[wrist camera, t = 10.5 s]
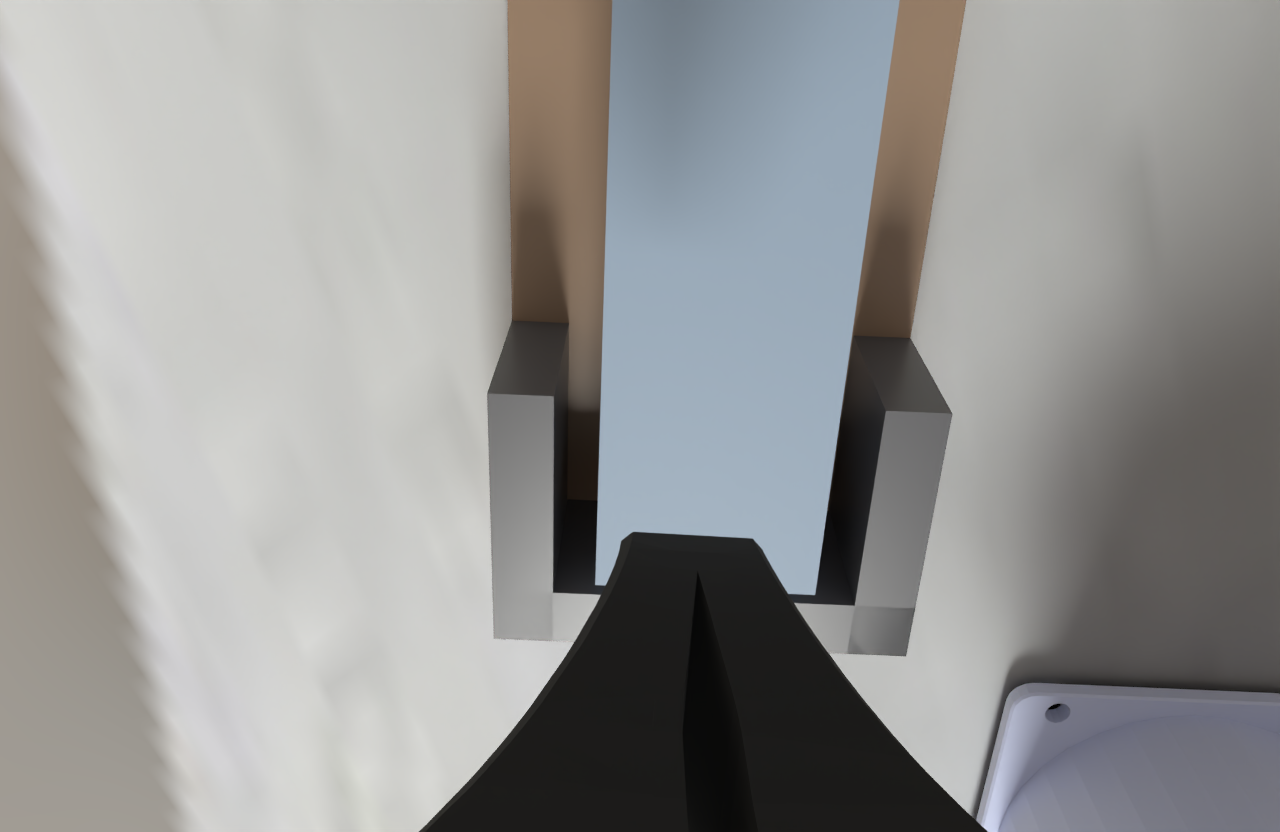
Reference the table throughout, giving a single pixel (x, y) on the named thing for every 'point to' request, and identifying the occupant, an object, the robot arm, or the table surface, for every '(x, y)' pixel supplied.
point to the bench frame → (573, 330)
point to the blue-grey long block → (734, 265)
